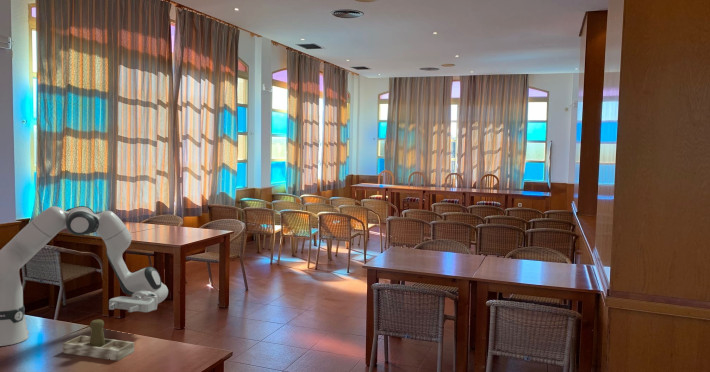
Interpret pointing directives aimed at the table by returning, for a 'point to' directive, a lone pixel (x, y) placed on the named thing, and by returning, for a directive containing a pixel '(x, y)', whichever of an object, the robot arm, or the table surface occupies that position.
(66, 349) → the divided tray
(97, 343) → the cork
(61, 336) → the table surface
